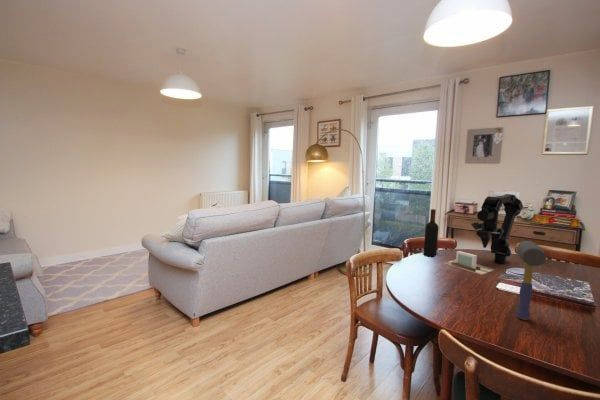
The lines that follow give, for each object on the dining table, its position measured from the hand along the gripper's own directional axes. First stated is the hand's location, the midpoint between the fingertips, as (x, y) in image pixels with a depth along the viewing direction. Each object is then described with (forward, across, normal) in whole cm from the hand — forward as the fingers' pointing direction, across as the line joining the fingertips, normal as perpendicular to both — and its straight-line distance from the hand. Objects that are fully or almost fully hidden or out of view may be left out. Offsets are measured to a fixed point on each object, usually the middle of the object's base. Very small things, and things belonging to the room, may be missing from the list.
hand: (488, 246), depth 166 cm
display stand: (+13, +8, -6) cm, 16 cm away
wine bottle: (+13, +7, -31) cm, 34 cm away
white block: (+12, +11, -6) cm, 17 cm away
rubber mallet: (+13, +45, +35) cm, 59 cm away
